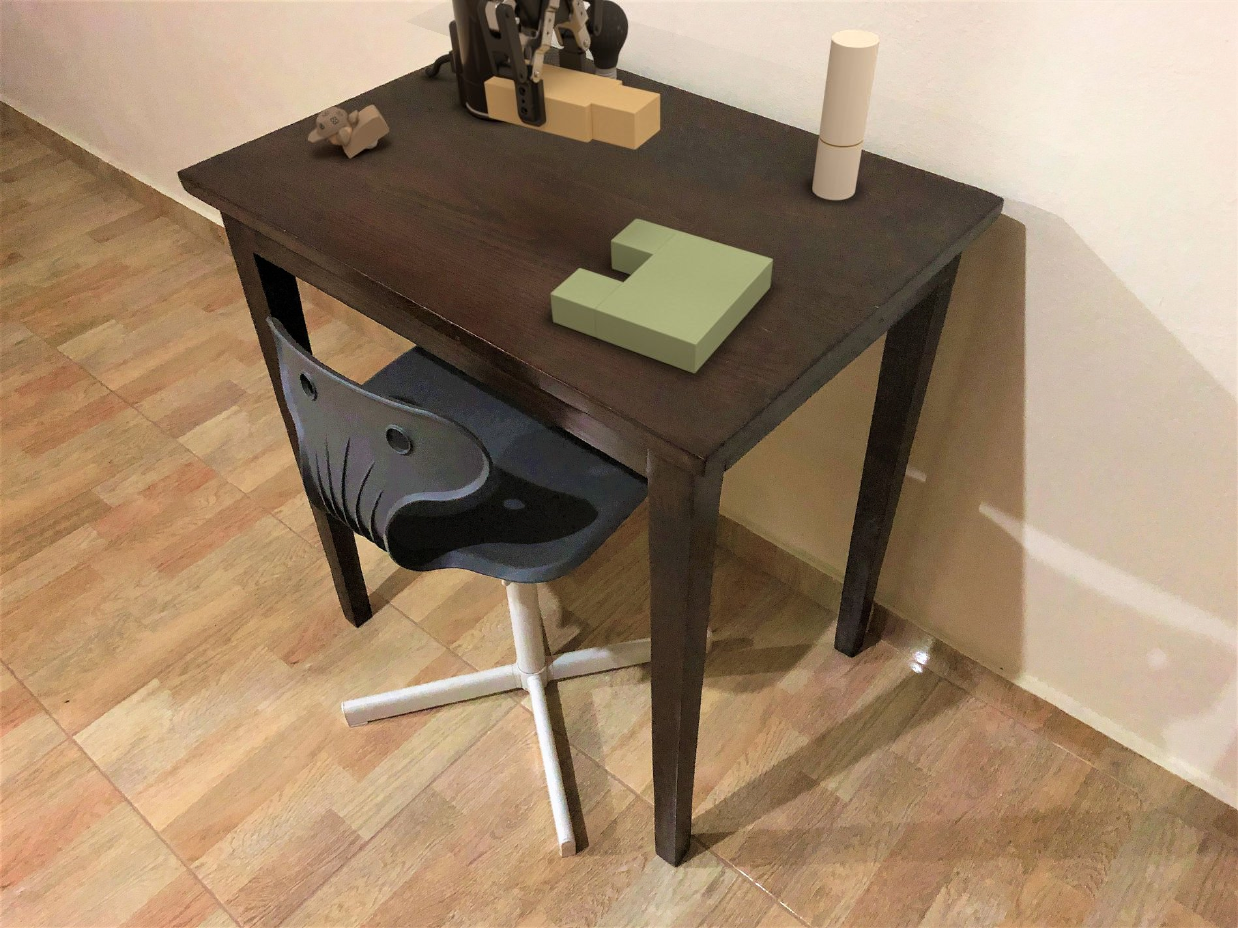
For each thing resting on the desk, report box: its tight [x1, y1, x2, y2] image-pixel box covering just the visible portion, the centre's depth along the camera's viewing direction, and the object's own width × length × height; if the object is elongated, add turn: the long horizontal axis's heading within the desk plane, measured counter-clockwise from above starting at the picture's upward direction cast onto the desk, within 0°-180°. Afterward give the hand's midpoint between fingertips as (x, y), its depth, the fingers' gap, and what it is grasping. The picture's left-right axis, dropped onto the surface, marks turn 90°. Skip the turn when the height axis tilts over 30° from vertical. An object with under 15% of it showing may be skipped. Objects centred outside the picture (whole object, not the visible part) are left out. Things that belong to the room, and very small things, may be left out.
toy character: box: [307, 104, 390, 159], centre depth 103 cm, size 4×8×6 cm, turn 112°
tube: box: [812, 29, 881, 201], centre depth 90 cm, size 4×4×15 cm
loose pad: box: [484, 60, 661, 151], centre depth 76 cm, size 14×6×3 cm, turn 58°
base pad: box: [550, 218, 774, 374], centre depth 81 cm, size 14×14×3 cm
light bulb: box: [585, 0, 629, 80], centre depth 111 cm, size 6×6×10 cm
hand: (554, 108), depth 78 cm, fingers closed on loose pad, 5 cm apart
